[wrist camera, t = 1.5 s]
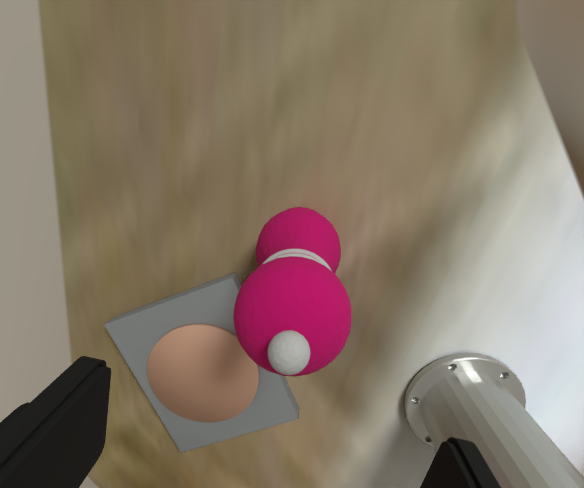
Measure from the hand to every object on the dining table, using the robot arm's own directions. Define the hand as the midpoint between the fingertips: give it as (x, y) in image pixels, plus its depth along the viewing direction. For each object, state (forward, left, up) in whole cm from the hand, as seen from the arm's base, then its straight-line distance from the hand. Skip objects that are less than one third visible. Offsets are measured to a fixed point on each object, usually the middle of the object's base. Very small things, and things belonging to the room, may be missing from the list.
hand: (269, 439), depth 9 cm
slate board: (-10, +15, -24) cm, 30 cm away
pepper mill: (0, 0, -24) cm, 24 cm away
